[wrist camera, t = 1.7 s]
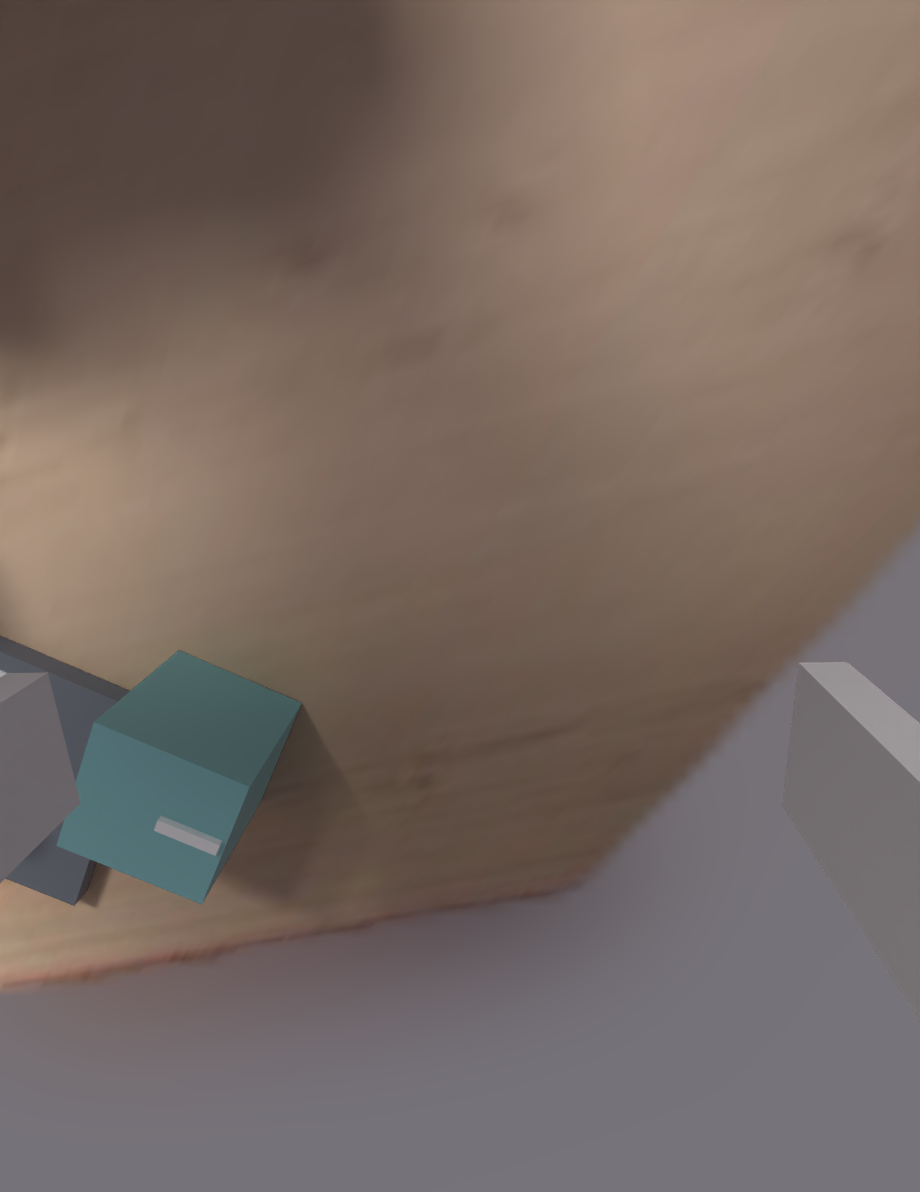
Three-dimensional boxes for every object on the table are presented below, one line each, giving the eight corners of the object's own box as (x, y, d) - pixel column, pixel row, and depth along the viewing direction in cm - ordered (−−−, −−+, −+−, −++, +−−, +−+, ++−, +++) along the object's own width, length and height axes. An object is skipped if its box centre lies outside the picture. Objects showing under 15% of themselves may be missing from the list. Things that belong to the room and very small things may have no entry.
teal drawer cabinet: (143, 754, 37) (51, 850, 29) (178, 650, 35) (89, 725, 27) (260, 802, 37) (198, 909, 30) (301, 703, 35) (246, 791, 28)
